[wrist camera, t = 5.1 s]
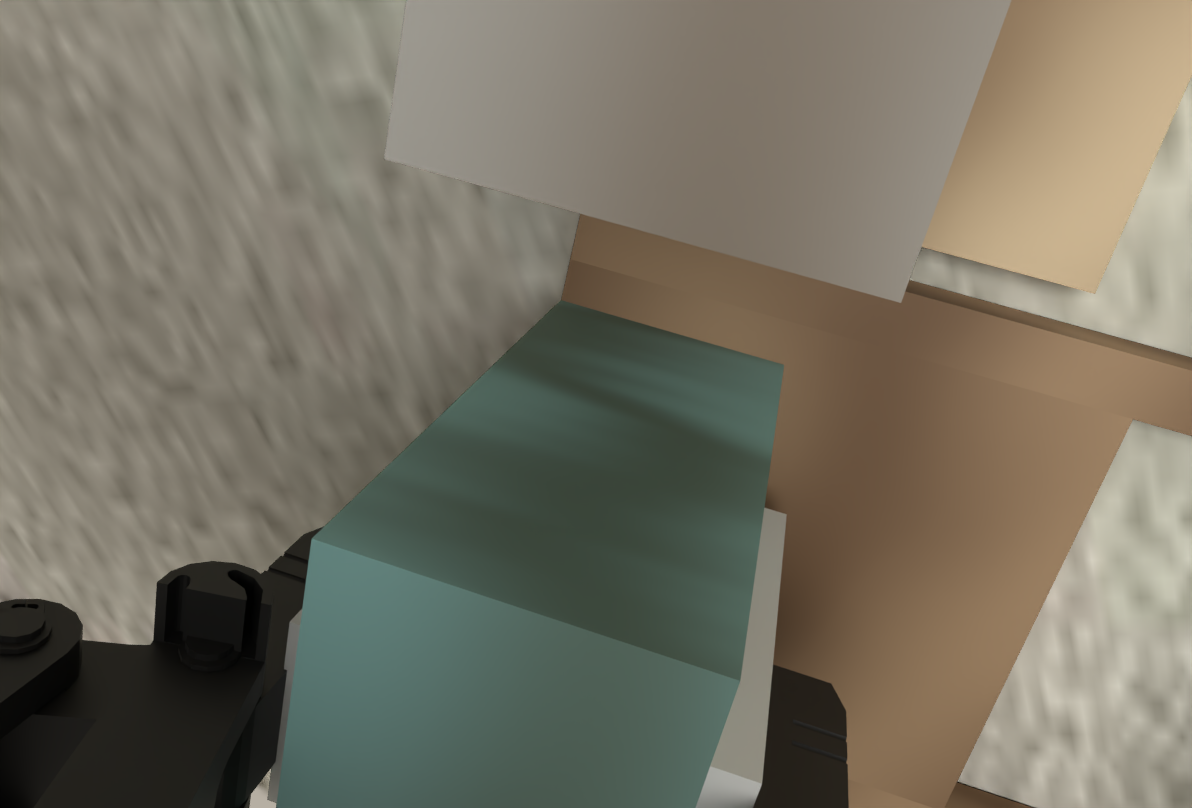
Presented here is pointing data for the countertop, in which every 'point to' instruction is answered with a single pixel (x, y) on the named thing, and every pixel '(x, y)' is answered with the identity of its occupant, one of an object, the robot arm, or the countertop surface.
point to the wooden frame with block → (706, 537)
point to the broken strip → (808, 122)
